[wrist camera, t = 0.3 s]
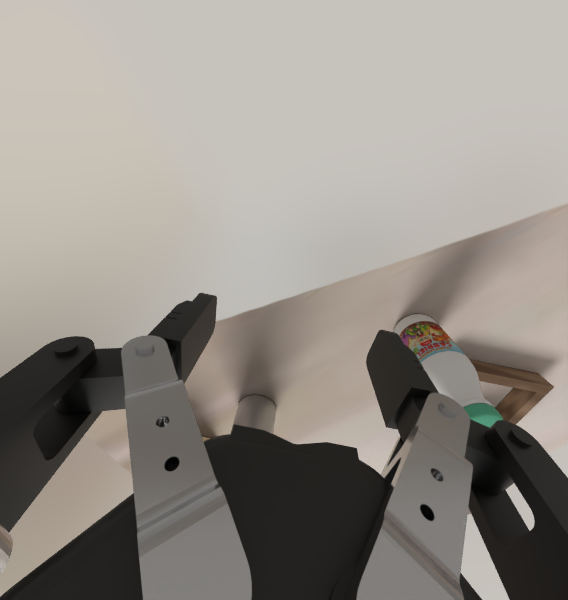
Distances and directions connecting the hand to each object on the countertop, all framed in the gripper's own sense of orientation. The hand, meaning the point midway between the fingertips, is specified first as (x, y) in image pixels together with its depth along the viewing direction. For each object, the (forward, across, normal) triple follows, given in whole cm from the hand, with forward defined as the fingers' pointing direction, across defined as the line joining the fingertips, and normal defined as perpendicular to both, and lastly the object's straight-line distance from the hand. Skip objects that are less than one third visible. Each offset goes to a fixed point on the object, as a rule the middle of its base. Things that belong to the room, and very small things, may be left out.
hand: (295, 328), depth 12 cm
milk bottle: (+30, +25, -15) cm, 42 cm away
